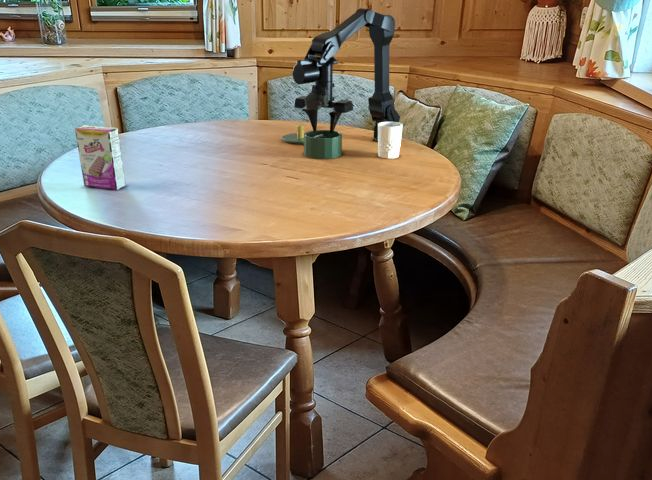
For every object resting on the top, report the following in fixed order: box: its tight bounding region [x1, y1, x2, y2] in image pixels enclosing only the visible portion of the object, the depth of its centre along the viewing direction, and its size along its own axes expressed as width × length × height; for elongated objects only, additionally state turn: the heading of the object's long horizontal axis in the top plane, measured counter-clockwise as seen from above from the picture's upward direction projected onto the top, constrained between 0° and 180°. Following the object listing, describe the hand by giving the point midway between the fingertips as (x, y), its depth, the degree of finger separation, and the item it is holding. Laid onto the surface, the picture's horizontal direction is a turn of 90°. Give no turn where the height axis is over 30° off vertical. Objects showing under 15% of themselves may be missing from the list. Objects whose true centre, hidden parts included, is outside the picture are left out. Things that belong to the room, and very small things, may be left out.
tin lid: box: [281, 124, 306, 145], centre depth 253 cm, size 13×13×5 cm
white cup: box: [377, 121, 404, 159], centre depth 233 cm, size 8×8×10 cm
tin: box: [303, 129, 343, 160], centre depth 236 cm, size 12×12×6 cm
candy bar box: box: [74, 124, 126, 191], centre depth 204 cm, size 11×5×16 cm, turn 71°
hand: (323, 132), depth 235 cm, fingers open, 6 cm apart
